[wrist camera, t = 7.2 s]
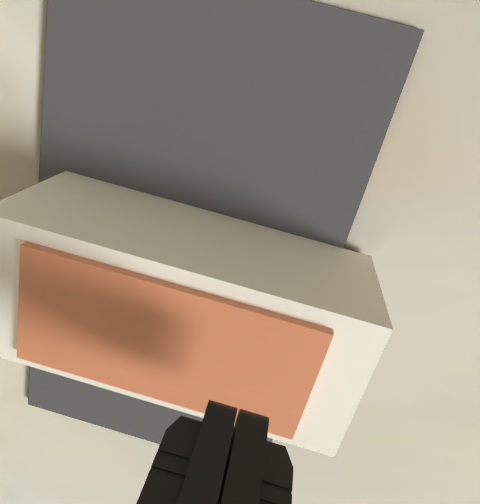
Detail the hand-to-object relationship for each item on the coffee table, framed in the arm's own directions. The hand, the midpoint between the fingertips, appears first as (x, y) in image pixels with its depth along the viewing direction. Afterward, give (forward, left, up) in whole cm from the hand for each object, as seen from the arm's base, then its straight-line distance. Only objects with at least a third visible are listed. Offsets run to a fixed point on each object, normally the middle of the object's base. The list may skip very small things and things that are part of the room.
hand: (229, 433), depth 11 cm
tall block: (0, +4, -5) cm, 6 cm away
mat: (0, -3, -8) cm, 9 cm away
